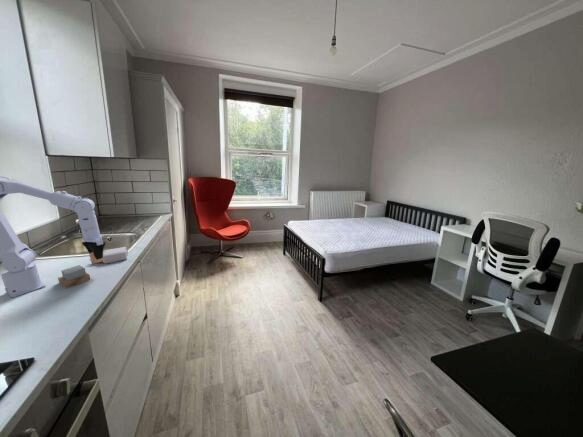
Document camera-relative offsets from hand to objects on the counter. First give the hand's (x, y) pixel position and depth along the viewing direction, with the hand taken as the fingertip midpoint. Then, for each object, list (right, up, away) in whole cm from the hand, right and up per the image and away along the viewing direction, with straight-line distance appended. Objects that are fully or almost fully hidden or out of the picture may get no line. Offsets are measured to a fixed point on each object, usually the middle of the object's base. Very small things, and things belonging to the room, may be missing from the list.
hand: (97, 257), depth 105 cm
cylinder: (0, -2, 0) cm, 2 cm away
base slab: (-7, -10, -3) cm, 13 cm away
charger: (-8, -5, +18) cm, 20 cm away
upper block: (-7, -7, -4) cm, 10 cm away
